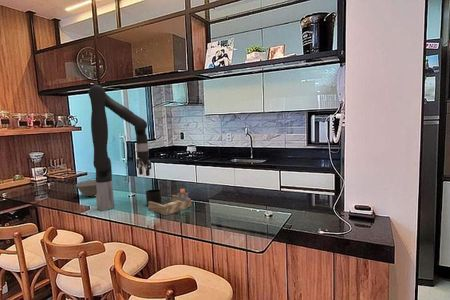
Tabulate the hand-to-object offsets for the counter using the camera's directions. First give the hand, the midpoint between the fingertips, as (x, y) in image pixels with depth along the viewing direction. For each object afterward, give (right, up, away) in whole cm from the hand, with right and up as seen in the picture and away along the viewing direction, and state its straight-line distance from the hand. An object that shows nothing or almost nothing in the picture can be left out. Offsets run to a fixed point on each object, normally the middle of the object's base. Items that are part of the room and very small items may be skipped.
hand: (144, 175), depth 190 cm
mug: (+9, -18, -5) cm, 21 cm away
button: (+28, -11, -17) cm, 34 cm away
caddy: (+20, -19, -15) cm, 31 cm away
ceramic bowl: (-45, -18, +26) cm, 55 cm away
